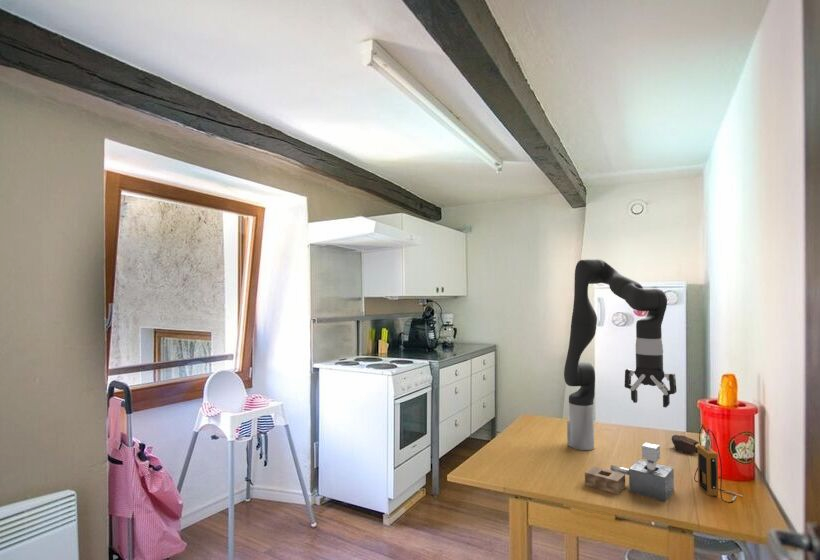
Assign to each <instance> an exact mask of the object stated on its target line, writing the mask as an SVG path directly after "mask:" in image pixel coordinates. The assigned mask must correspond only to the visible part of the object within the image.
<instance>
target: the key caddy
mask: <svg viewBox="0 0 820 560" xmlns="http://www.w3.org/2000/svg"><path fill="white" fill-rule="evenodd" d="M584 486H587V487H591V488H594V489H596V490H597V489H598V490H601V491H604V492H608V493H612V494H615V495H619V494H620V493H621V492H622V491H623V490H624V489H625V488H626V474H622V473H618V472H614V471H611V469H606V468H603V467H598V466H594V465H592V466H591V467H589V469H588V470H586V471H585V472H584Z"/></svg>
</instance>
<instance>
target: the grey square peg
mask: <svg viewBox="0 0 820 560" xmlns="http://www.w3.org/2000/svg"><path fill="white" fill-rule="evenodd" d="M641 459H642V460H646V461H647V469H648V470H652V471H656V464H657V463H656V462H658V461H659V460H660V459H661V445H660V444H655V443H650V442H644V443H643V444H642V445H641Z"/></svg>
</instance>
